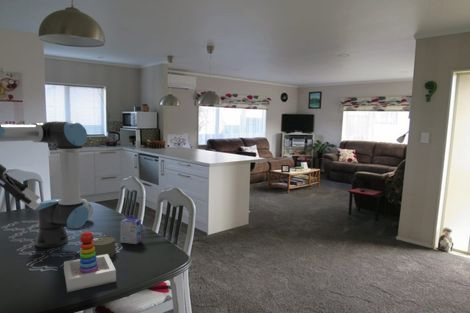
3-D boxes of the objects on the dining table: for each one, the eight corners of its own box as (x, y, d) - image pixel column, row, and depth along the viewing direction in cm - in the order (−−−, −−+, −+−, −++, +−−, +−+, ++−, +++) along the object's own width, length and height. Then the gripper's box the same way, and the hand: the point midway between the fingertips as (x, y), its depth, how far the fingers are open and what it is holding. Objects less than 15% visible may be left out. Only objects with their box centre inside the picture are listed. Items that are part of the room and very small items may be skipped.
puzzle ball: (64, 226, 201) (63, 202, 200) (70, 218, 216) (70, 196, 214) (91, 224, 205) (90, 201, 203) (95, 217, 219) (94, 195, 218)
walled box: (64, 273, 142) (63, 261, 141) (108, 264, 151) (107, 253, 151) (67, 292, 127) (67, 279, 126) (116, 281, 136) (115, 269, 135)
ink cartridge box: (141, 240, 181) (141, 215, 179) (136, 244, 175) (136, 218, 174) (125, 239, 183) (125, 213, 181) (120, 242, 177) (119, 216, 176)
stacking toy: (82, 269, 143) (81, 228, 140) (101, 269, 143) (100, 228, 141) (75, 278, 135) (73, 234, 133) (95, 278, 135) (94, 234, 133)
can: (103, 260, 155) (103, 246, 155) (84, 256, 160) (83, 242, 159) (120, 251, 167) (120, 238, 166) (101, 247, 171) (101, 234, 170)
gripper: (-15, 171, 135) (30, 203, 144) (-24, 182, 114) (29, 218, 123) (0, 158, 137) (44, 190, 146) (-6, 166, 116) (45, 203, 125)
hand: (37, 203), depth 135 cm, fingers open, 13 cm apart
